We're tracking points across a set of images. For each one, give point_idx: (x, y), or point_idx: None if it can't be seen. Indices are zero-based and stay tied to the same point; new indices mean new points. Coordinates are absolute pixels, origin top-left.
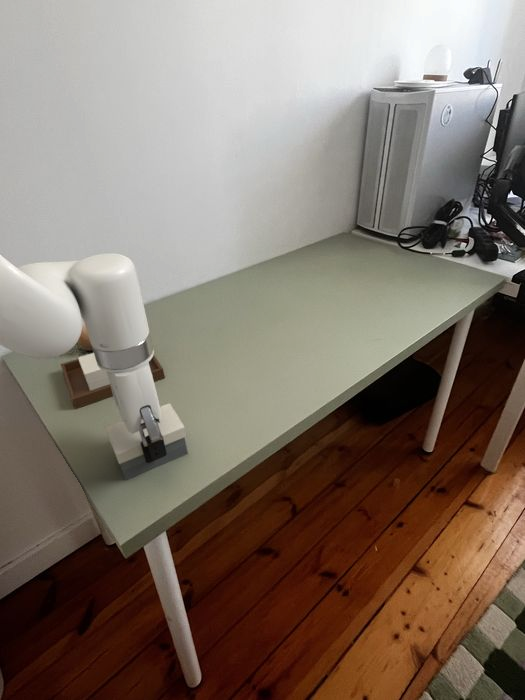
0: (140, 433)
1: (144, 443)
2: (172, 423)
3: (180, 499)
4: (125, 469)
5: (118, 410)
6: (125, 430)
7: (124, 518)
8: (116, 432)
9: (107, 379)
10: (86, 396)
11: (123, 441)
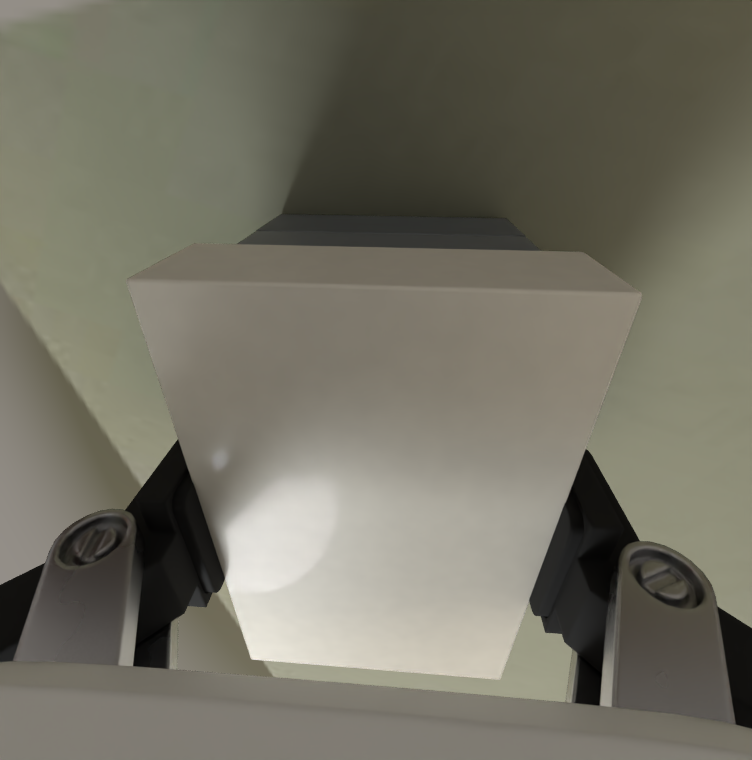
0: (18, 658)
1: (53, 556)
2: (312, 639)
3: (85, 389)
4: None
5: (528, 726)
6: (427, 441)
7: (10, 125)
8: (460, 370)
9: None
10: None
11: (288, 389)
